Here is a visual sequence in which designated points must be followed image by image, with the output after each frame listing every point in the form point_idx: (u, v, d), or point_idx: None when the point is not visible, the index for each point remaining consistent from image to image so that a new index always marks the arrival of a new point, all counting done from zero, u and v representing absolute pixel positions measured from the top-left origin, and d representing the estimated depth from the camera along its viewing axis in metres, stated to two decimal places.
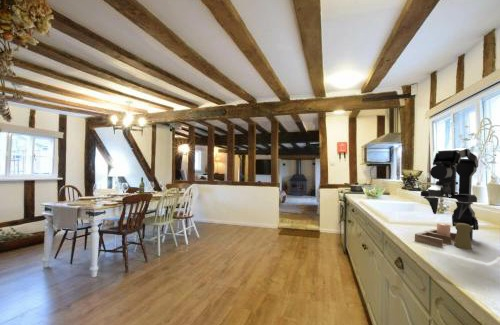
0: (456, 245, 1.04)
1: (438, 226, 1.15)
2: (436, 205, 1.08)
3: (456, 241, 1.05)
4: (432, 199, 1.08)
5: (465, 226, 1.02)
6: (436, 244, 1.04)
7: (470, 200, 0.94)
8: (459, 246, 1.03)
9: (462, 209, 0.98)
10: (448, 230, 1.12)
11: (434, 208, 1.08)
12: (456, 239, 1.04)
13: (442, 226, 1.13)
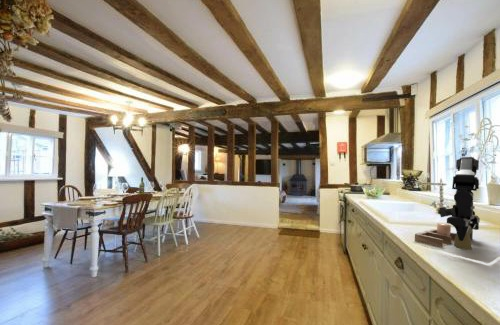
0: (456, 245, 1.04)
1: (438, 226, 1.15)
2: None
3: (456, 241, 1.05)
4: None
5: None
6: (436, 244, 1.04)
7: (451, 222, 1.00)
8: (459, 246, 1.03)
9: (461, 231, 1.02)
10: (448, 230, 1.12)
11: None
12: (456, 239, 1.04)
13: (442, 226, 1.13)
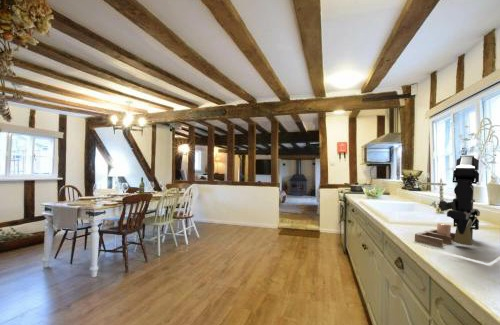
0: (456, 238, 1.04)
1: (439, 226, 1.15)
2: None
3: (456, 234, 1.05)
4: None
5: None
6: (436, 244, 1.04)
7: (451, 215, 1.00)
8: (459, 239, 1.03)
9: (461, 225, 1.02)
10: (449, 230, 1.13)
11: None
12: (457, 233, 1.05)
13: (443, 226, 1.13)
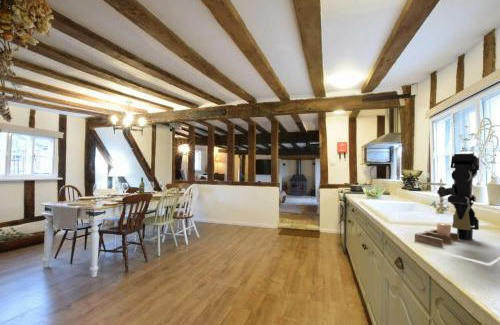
0: (455, 224, 1.04)
1: (439, 226, 1.14)
2: None
3: (455, 220, 1.05)
4: None
5: None
6: (436, 244, 1.04)
7: (453, 200, 1.00)
8: (459, 225, 1.03)
9: (460, 210, 1.02)
10: (449, 230, 1.12)
11: None
12: (456, 218, 1.05)
13: (443, 226, 1.13)
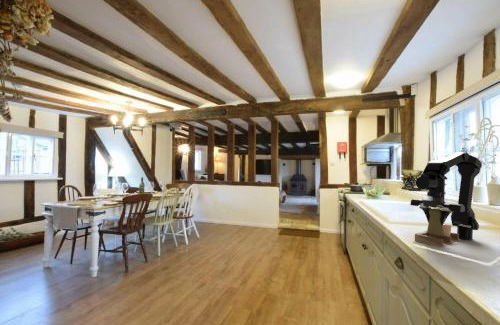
0: (440, 231, 1.07)
1: None
2: None
3: (439, 227, 1.07)
4: (427, 209, 1.11)
5: None
6: (436, 244, 1.04)
7: (461, 210, 1.01)
8: (442, 231, 1.07)
9: (445, 217, 1.07)
10: (449, 230, 1.13)
11: (429, 218, 1.11)
12: (439, 225, 1.07)
13: (444, 226, 1.13)
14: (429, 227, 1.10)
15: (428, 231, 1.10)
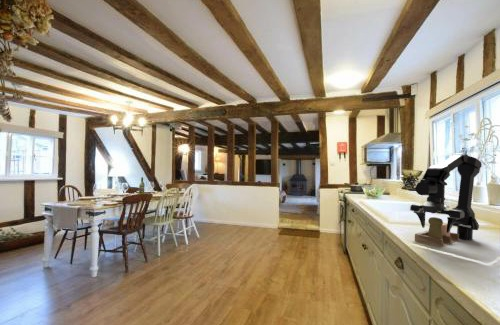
0: None
1: None
2: (424, 219, 1.14)
3: (439, 236, 1.07)
4: (421, 213, 1.13)
5: (441, 220, 1.09)
6: (436, 244, 1.04)
7: (461, 216, 1.01)
8: None
9: (451, 224, 1.05)
10: None
11: (423, 222, 1.13)
12: (439, 235, 1.07)
13: (445, 227, 1.12)
14: None
15: None
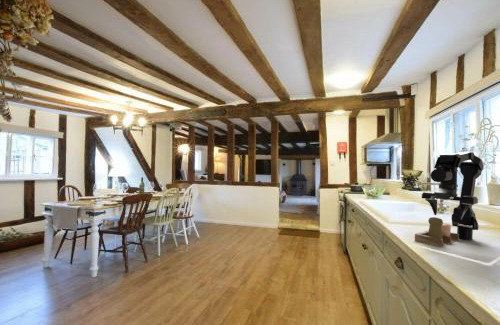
0: None
1: (441, 227, 1.13)
2: (436, 206, 1.13)
3: (439, 236, 1.07)
4: (433, 201, 1.13)
5: (441, 220, 1.09)
6: (436, 244, 1.04)
7: (474, 202, 1.00)
8: None
9: (464, 210, 1.04)
10: (450, 230, 1.13)
11: (435, 209, 1.12)
12: (439, 235, 1.07)
13: (446, 227, 1.12)
14: None
15: None
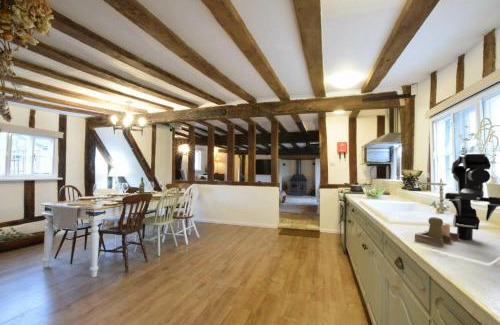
0: None
1: (441, 227, 1.13)
2: (460, 207, 1.11)
3: (439, 236, 1.07)
4: (457, 202, 1.10)
5: (441, 220, 1.09)
6: (436, 244, 1.04)
7: None
8: None
9: (491, 211, 1.02)
10: (449, 229, 1.13)
11: (459, 210, 1.10)
12: (439, 235, 1.07)
13: (446, 226, 1.12)
14: None
15: None
